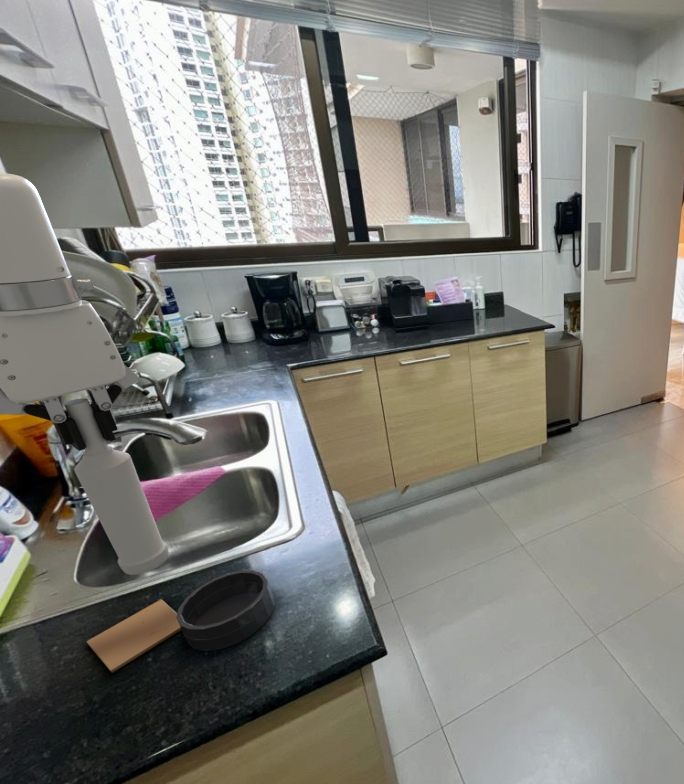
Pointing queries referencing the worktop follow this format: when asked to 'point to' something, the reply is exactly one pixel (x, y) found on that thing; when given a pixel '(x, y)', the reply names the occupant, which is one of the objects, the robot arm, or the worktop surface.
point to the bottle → (117, 496)
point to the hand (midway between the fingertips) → (93, 441)
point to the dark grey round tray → (226, 610)
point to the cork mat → (135, 635)
